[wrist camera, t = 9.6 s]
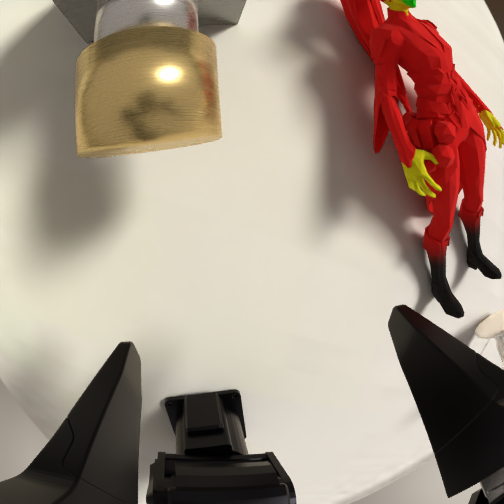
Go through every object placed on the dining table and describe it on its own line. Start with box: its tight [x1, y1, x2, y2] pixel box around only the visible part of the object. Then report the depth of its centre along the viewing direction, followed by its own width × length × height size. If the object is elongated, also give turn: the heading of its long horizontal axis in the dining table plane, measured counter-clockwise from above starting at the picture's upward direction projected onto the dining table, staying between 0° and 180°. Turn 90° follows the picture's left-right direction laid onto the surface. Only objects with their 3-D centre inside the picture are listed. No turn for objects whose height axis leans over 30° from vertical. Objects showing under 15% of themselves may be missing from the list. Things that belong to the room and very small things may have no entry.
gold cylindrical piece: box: [75, 0, 222, 158], centre depth 11 cm, size 8×6×6 cm
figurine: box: [340, 0, 504, 318], centre depth 20 cm, size 12×9×30 cm
